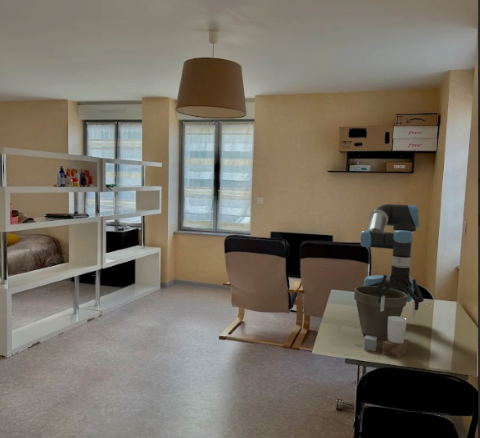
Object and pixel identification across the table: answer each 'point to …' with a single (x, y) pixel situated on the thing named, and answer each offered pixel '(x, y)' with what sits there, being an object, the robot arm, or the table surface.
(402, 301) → the plant pot
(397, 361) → the table surface
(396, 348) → the walnut block
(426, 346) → the table surface
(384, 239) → the robot arm
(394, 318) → the white cup
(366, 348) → the grey cube
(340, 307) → the table surface
